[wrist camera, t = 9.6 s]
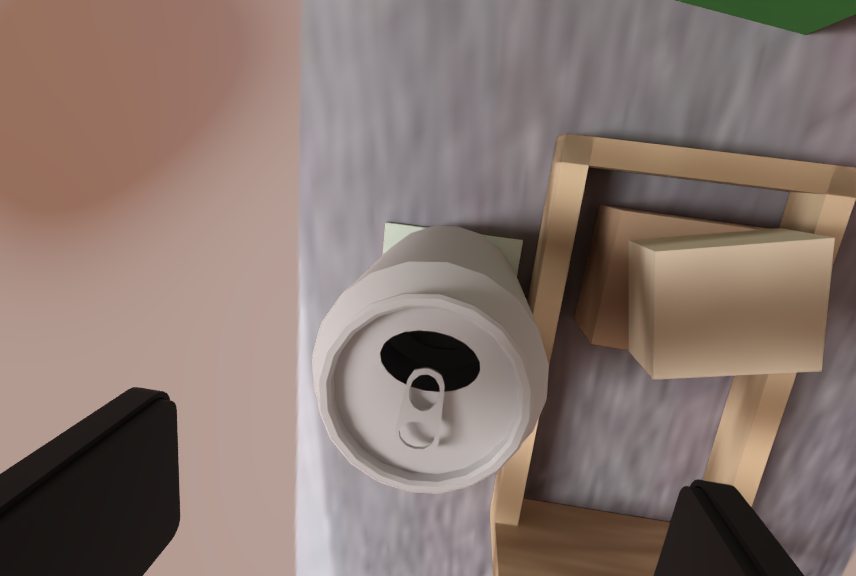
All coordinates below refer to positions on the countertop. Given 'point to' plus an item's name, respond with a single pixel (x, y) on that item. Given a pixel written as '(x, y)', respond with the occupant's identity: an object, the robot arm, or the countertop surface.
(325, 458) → the countertop surface
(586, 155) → the frame
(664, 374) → the offcut small
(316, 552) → the countertop surface
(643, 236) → the offcut large
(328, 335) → the can
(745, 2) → the hardback book
